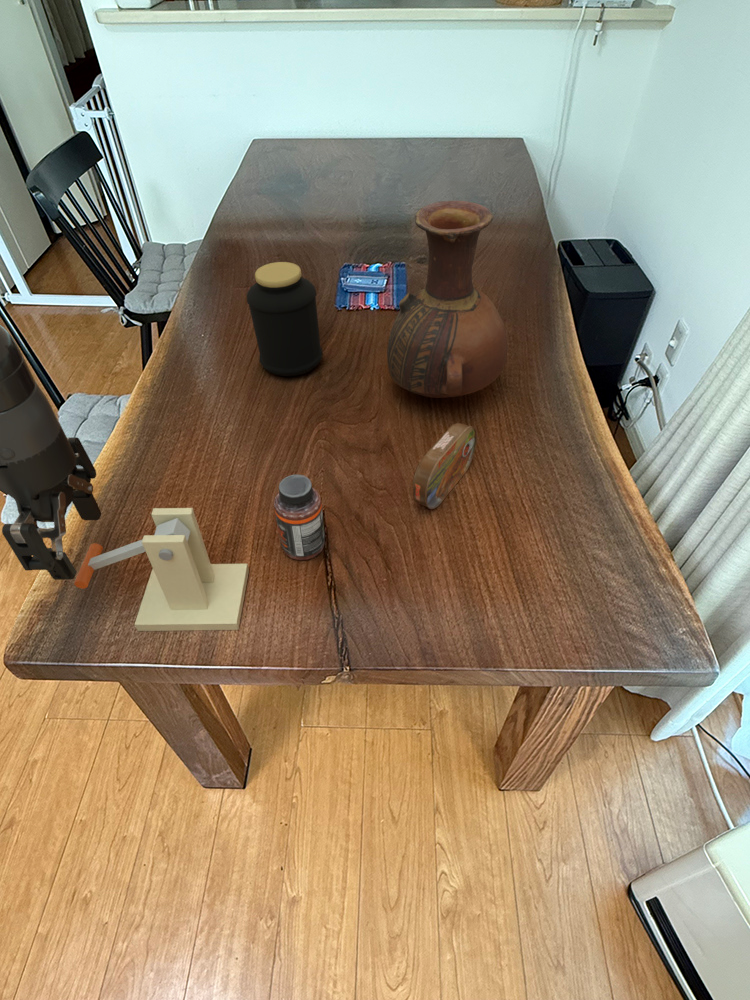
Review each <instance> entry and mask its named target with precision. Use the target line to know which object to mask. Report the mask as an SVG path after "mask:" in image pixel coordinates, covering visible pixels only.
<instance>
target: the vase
mask: <svg viewBox="0 0 750 1000" xmlns="http://www.w3.org/2000/svg"><path fill="white" fill-rule="evenodd" d="M493 219H494V215H493V213H492V212H491V210H490V209H489V208H487V207H486V206H484V205H481V204H479V203H476V202H472V201H468V200H467V201H466V200H441V201H437V202H432V203H429V204H427V205H425V206H423V207H420V208H419V210H418V211H417V212H416V213H415V215H414V223H415V225H416V227H418V229H421V230H422V231H424V232H425V234H426V239H427V246H428V264H427V274H426V275H427V276H426V284H425V288H422V289H419V290H418V291H416V292H414V293H412V292H408V293H407V294H406V295H404V296H403V298H402V299H400V301H399V303H398V308H399V311H398V313H397V314H396V317H395V319H394V322H393V324H392V328H391V330H390V333H389V336H388V341H387V349H386V358H387V368H388V372H389V375H390V378H391V379H392V381H393V382H394V383H395V385H397V386H398V387H400V388H402V389H404V390H405V391H408V392H410V393H413V394H416V395H419V396H421V397H422V396H423V397H427V398H434V399H435V398H436V399H442V398H443V399H444V398H445V399H446V398H456V397H457V398H458V397H462V396H466V395H470V394H473V393H476V392H478V391H481V390H483V389H484V388H487V387H488V386H489V385H491V384H492V383H494V382H495V381H496V380H497V379H498V377H499V376H500V375H501V374H502V373H503V370H504V368H505V366H506V362H507V356H508V337H507V331H506V327H505V324H504V321H503V319H502V317H501V315H500V313H499V311H498V309H497V308H496V305H494V303H493V302H492V300H491V299H490V298H489V297H488V295H486V294H485V293H483V292H482V291H481V290H479V289H478V288H475V287H474V284H473V265H474V261H475V255H476V250H477V245H478V242H479V241H478V240H479V236H480V233H481V231H483V230H484V229H485V228H487V227H488V226H489V225H490V224H491V223H492V222H493Z"/></svg>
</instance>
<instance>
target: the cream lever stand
mask: <svg viewBox="0 0 750 1000" xmlns="http://www.w3.org/2000/svg"><path fill="white" fill-rule="evenodd" d="M150 515H151V518H152V520H153V523H154V525H155V527H156V528H157V526H158V525H160V524H163V523H165V522H168V521H171V520H173V519H176V518H178V519H179V520H180V521H181V522H182V523H183V524H184V525H185V526H186V527H187V528H188V529H189V530H190V531H191V532H190V535H189V539H188V542H187V540H186V537H185V535H154V534H153V535H151V534H150V535H149V534H148V535H145V534H144V535H143V537H142V539H141V540H142V544H143V547H144V549H145V551H146V552H145V553H146V556H147V558H148V560H149V563H150V565H151V567H152V569H151V572H150V575H149V579H148V581H147V584H146V587H145V591H144V595H143V597H142V600H141V603H140V606H139V609H138V612H137V616H136V618H135V622H134V627H135V629H136V631H138V632H173V631H174V632H175V631H177V632H178V631H180V632H181V631H189V632H190V631H239V629H240V624H241V618H242V612H243V608H244V607H243V606H244V600H245V596H246V589H247V585H248V579H249V573H250V568H249V565H248V563H211V560H210V558H209V555H208V551H207V548H206V545H205V542H204V539H203V536H202V535H203V534H202V532H201V529H200V526H199V524H198V520H197V517H196V514H195V511H194V508H193V507H153V508H152V511H151V513H150ZM156 528H155V529H156Z"/></svg>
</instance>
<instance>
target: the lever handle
mask: <svg viewBox="0 0 750 1000" xmlns="http://www.w3.org/2000/svg"><path fill="white" fill-rule="evenodd" d="M190 532H191V531H190V530H189V529H188V528H187V527H186V526H185V525H184V524H183V523H182V522H181V521H180V520H179V519H178V518H176V519H173V520H171V521H168V522H165V523H163V524H160V525H158V526H157V528H155V531H154V534H153V535H185V537H186V540H187V542H188V539H189V535H190ZM103 550H104V547H103V546H102V545H101V544H99V543H96V542H95V543H94V542H93V543H91V544H90V545H89V547H88V549H87V552H86V555H85V557H84V559H83V562H82V563H81V566H80V568H79V571H78V572H77V574H76V578H75V580H74V583H73V585H74V586H75V587H76V588H77V589H87V588H88V586H89V585H90V582H91V579H92V577H93V574H94V572H95V571H96V570H99V569H101V568H104V567H107V566H109V565H113V564H115V563H118V562H121V561H123V560H126V559H129V558H132V557H135V556H137V555H141V554H143V553H146V551H145V549H144V547H143V544H142V539H140V540H139V539H138V540H137V541H133V542H131V543H129V544H126V545H123V546H120V547H118V548H115V549H113V550H110V551H107V552H104V553H102V552H103Z"/></svg>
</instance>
